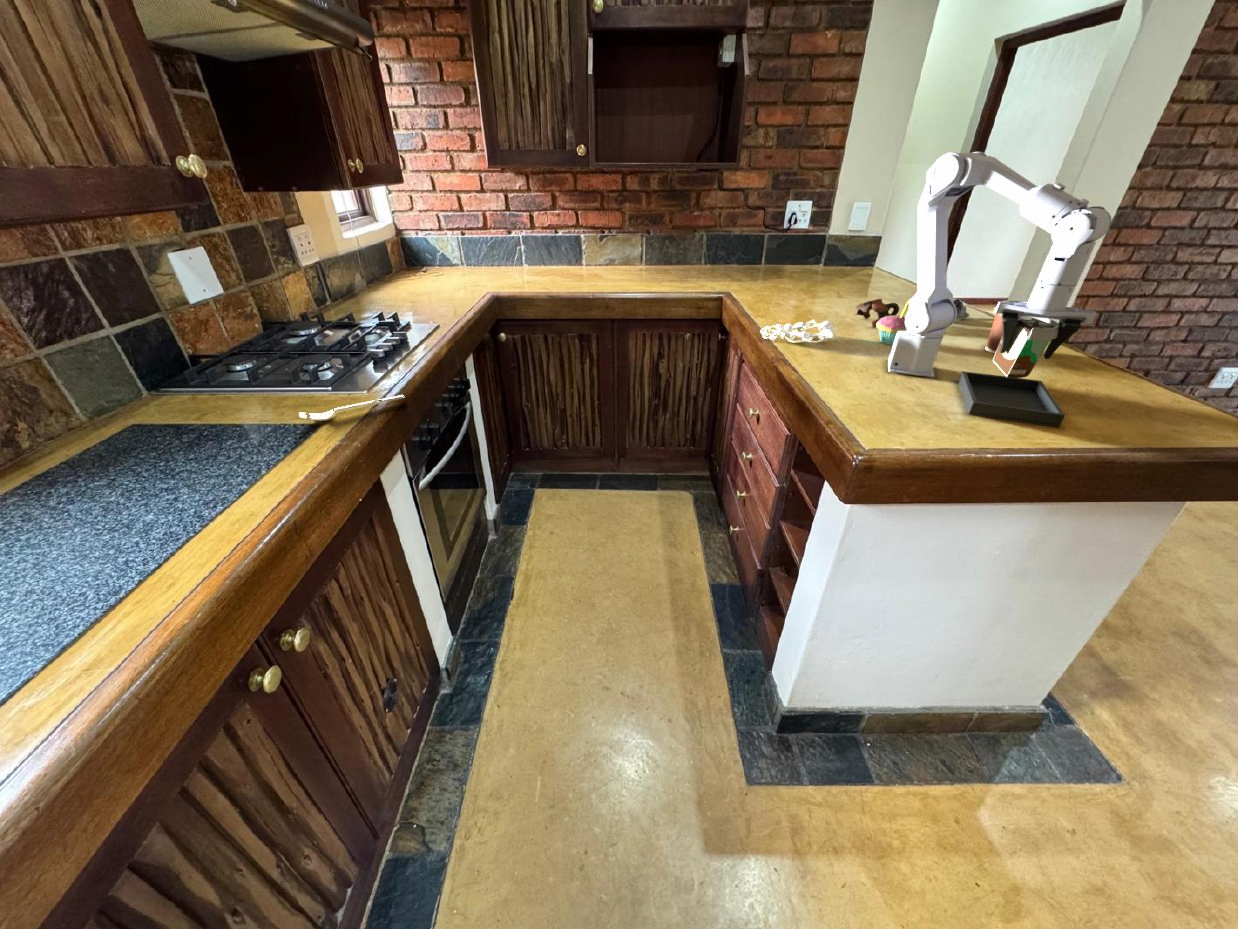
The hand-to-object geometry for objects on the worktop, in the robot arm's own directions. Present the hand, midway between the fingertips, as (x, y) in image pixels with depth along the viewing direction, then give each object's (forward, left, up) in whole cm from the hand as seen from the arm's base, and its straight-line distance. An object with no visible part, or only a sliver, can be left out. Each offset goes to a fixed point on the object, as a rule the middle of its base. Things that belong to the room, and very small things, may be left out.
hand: (1024, 354), depth 96 cm
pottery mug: (-25, +49, -10) cm, 56 cm away
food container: (0, 0, -3) cm, 3 cm away
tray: (0, -1, -10) cm, 10 cm away
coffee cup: (+5, +35, -10) cm, 37 cm away
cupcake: (-21, +32, -10) cm, 40 cm away
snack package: (-4, +62, -10) cm, 63 cm away
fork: (-124, -56, -10) cm, 136 cm away
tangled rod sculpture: (-44, +25, -10) cm, 52 cm away
